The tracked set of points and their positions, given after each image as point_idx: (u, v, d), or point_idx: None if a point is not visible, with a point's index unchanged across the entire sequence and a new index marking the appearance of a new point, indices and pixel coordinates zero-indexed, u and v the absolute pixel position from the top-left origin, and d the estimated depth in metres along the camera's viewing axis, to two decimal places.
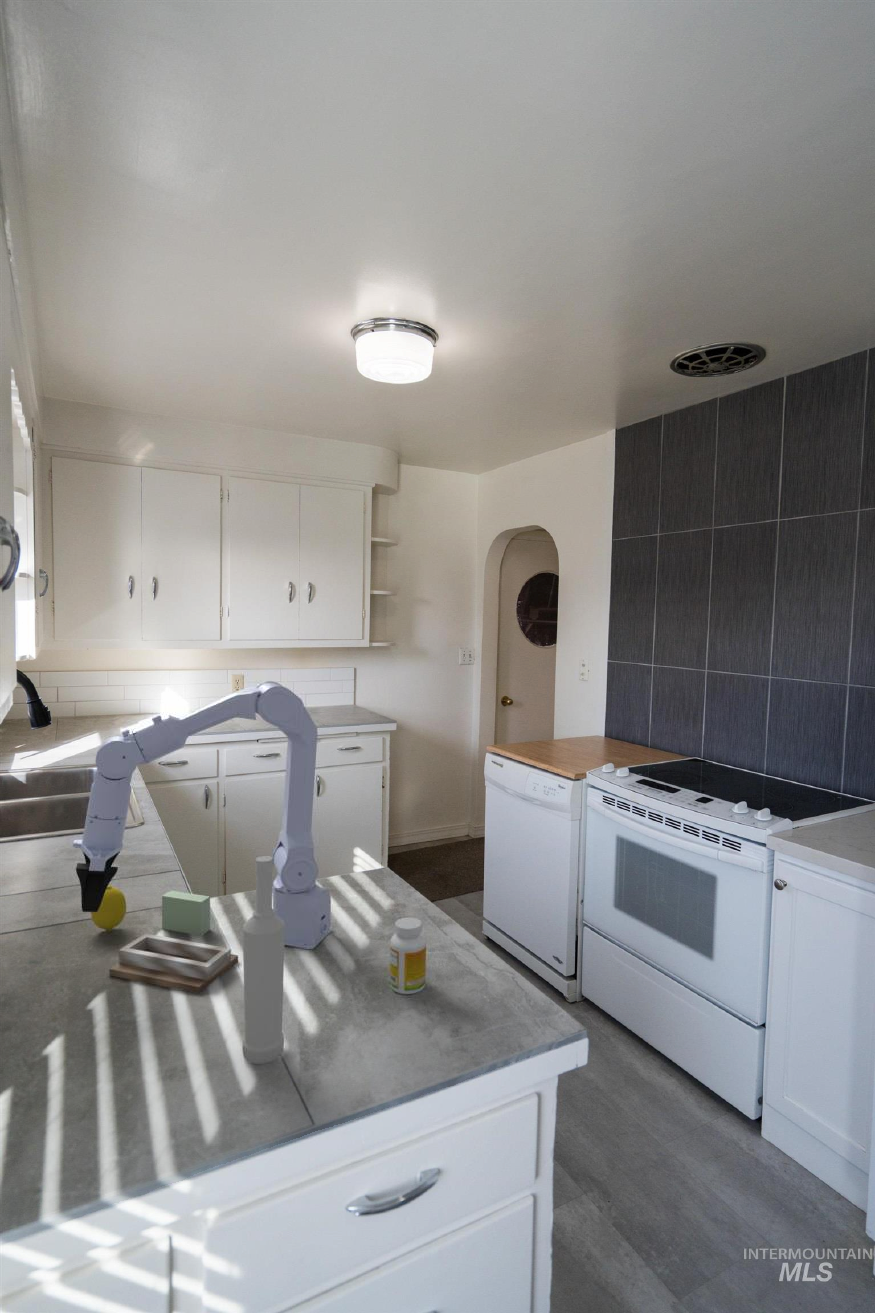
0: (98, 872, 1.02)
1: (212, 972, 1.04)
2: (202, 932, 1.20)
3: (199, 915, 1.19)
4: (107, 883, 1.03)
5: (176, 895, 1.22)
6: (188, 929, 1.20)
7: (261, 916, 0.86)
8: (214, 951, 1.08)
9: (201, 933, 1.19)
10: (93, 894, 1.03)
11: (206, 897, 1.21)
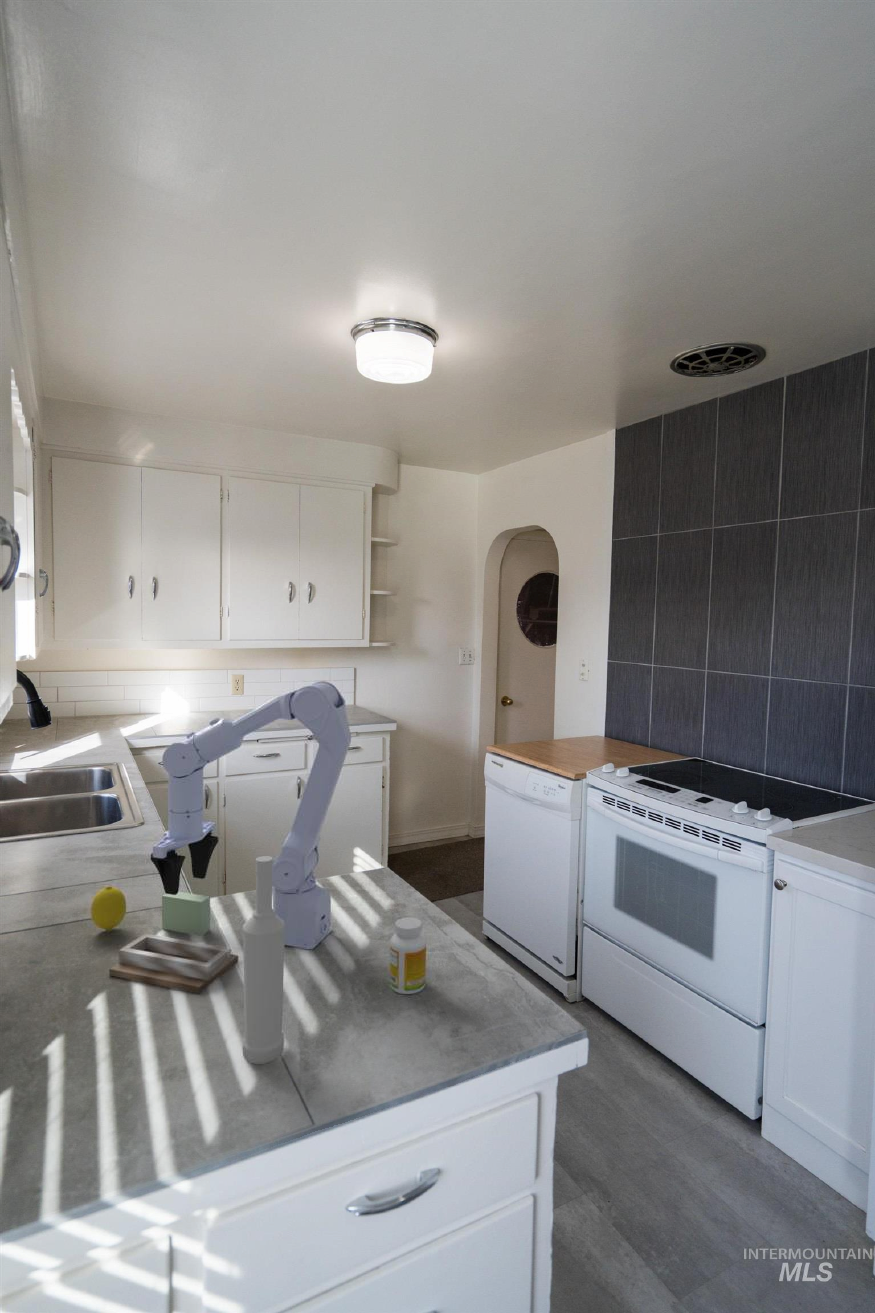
0: (163, 859, 1.15)
1: (212, 972, 1.04)
2: (202, 932, 1.20)
3: (199, 915, 1.19)
4: (174, 870, 1.15)
5: (176, 895, 1.22)
6: (188, 929, 1.20)
7: (261, 916, 0.86)
8: (214, 951, 1.08)
9: (201, 933, 1.19)
10: (169, 879, 1.17)
11: (206, 897, 1.21)
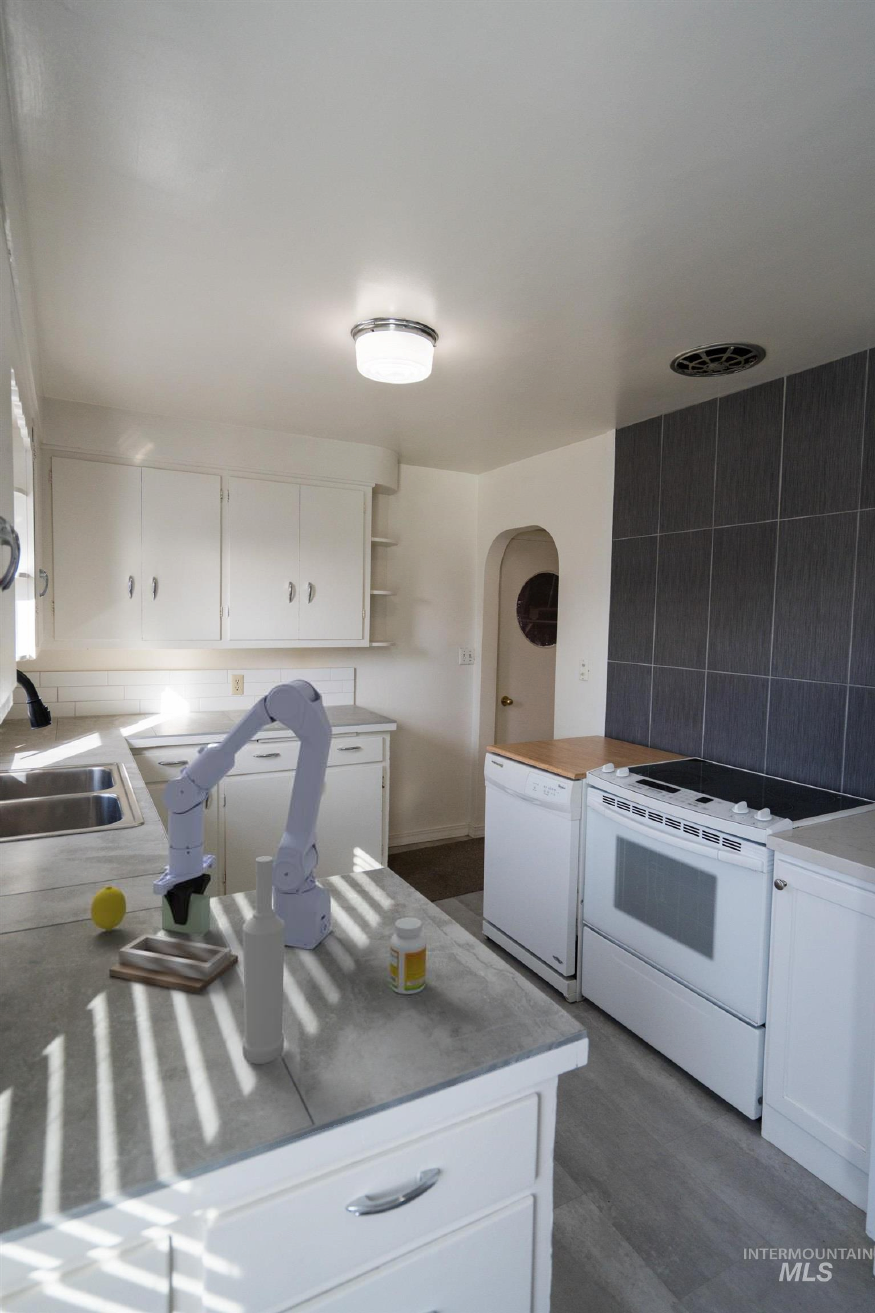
0: (173, 891, 1.17)
1: (212, 972, 1.04)
2: (202, 931, 1.20)
3: (199, 914, 1.19)
4: (183, 901, 1.18)
5: None
6: (188, 928, 1.20)
7: (261, 916, 0.86)
8: (214, 951, 1.08)
9: (201, 932, 1.19)
10: (178, 909, 1.19)
11: (206, 896, 1.21)
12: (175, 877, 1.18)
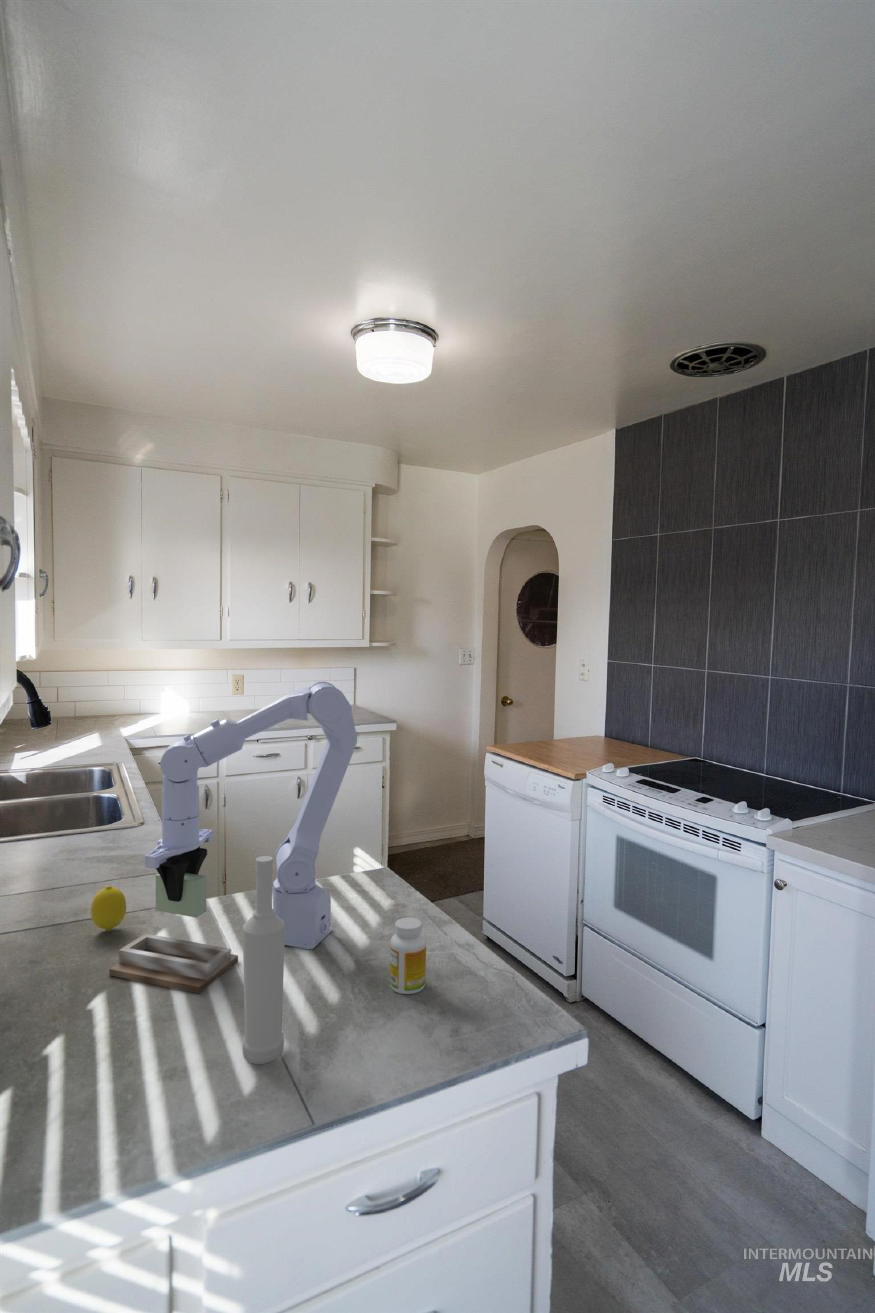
0: (166, 865, 1.10)
1: (212, 972, 1.04)
2: (197, 913, 1.12)
3: (195, 895, 1.12)
4: (177, 876, 1.11)
5: None
6: (183, 910, 1.13)
7: (261, 916, 0.86)
8: (214, 951, 1.08)
9: (196, 914, 1.12)
10: (172, 885, 1.12)
11: (202, 876, 1.14)
12: (169, 850, 1.11)
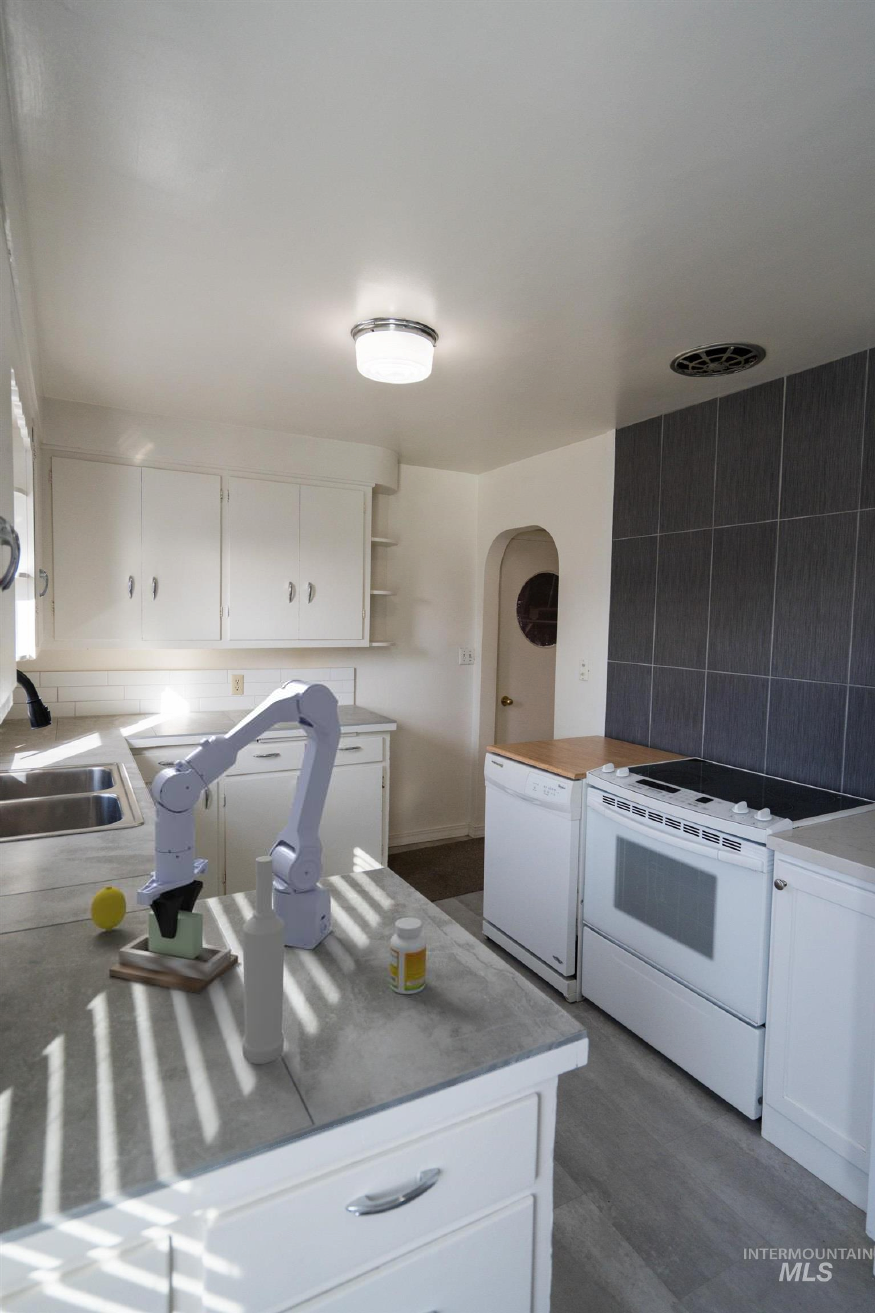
0: (159, 900, 1.04)
1: (212, 972, 1.04)
2: (193, 954, 1.06)
3: (190, 935, 1.05)
4: (171, 912, 1.04)
5: None
6: (178, 951, 1.06)
7: (261, 916, 0.86)
8: (214, 951, 1.08)
9: (192, 956, 1.06)
10: (166, 921, 1.06)
11: (198, 915, 1.07)
12: (162, 885, 1.04)
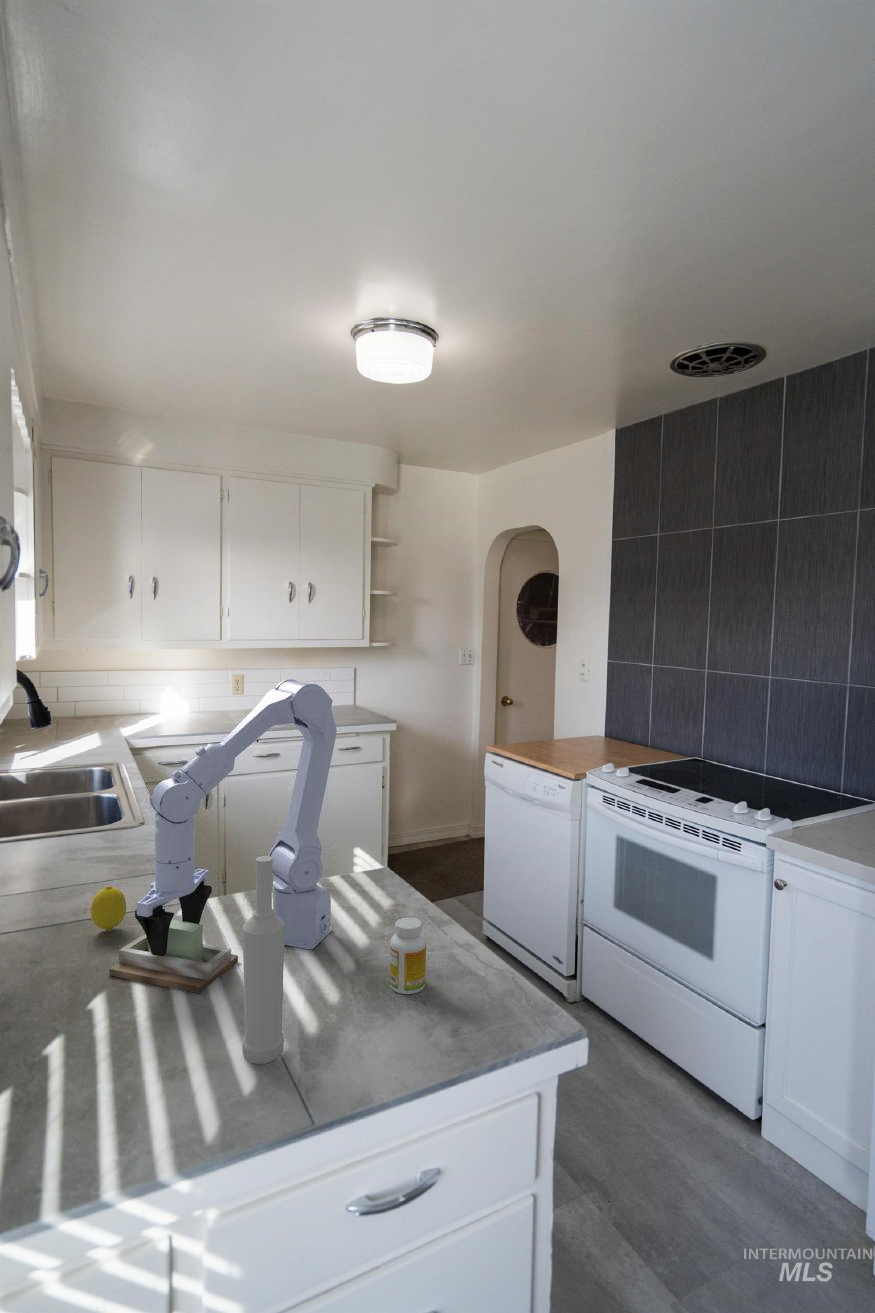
0: (149, 917, 1.02)
1: (212, 972, 1.04)
2: None
3: (190, 946, 1.06)
4: (161, 929, 1.02)
5: None
6: None
7: (261, 916, 0.86)
8: (214, 951, 1.08)
9: None
10: (156, 938, 1.04)
11: (198, 926, 1.07)
12: (162, 895, 1.04)
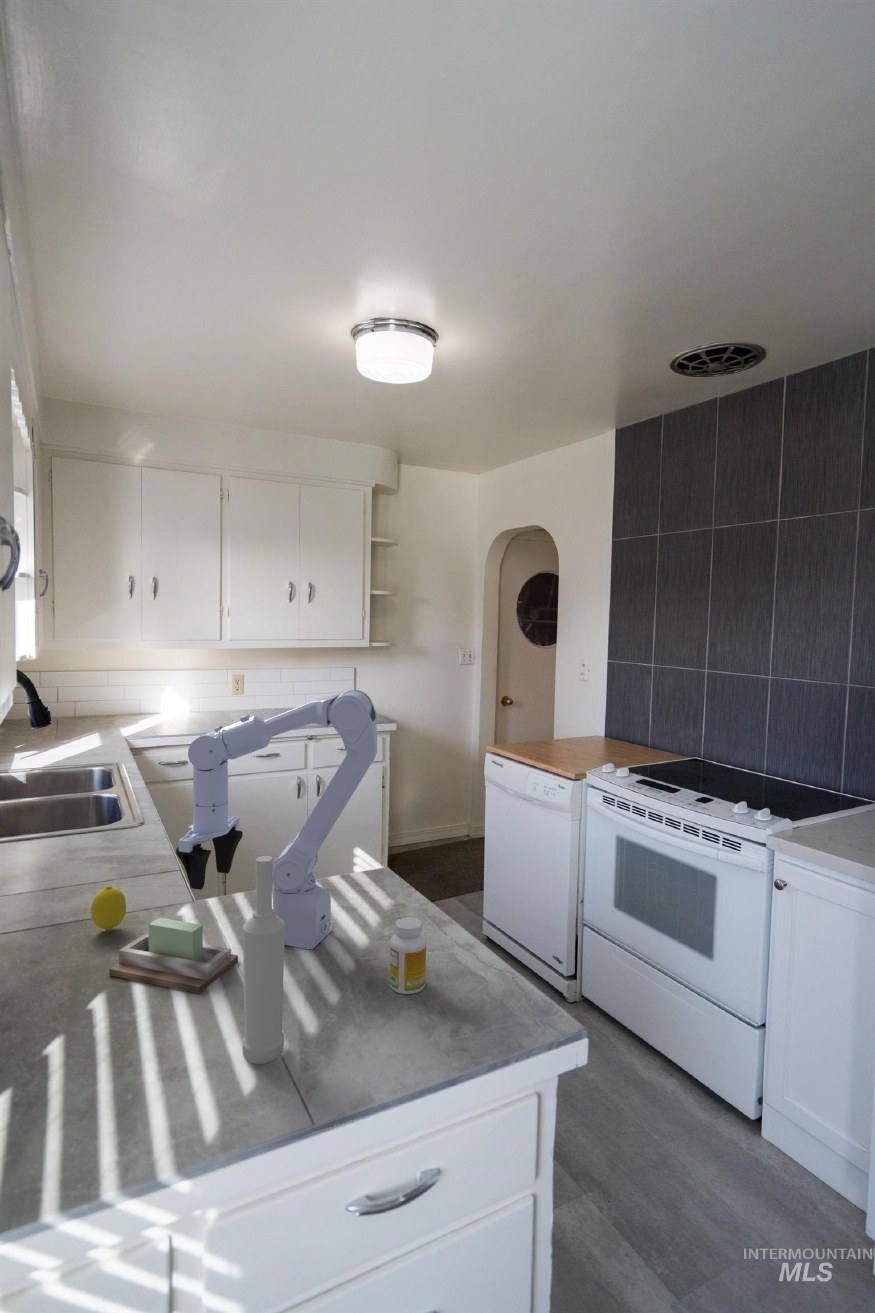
0: (189, 853, 1.13)
1: (212, 972, 1.04)
2: None
3: (190, 946, 1.06)
4: (200, 864, 1.14)
5: (165, 923, 1.08)
6: None
7: (261, 916, 0.86)
8: (214, 951, 1.08)
9: None
10: (195, 873, 1.15)
11: (198, 926, 1.07)
12: (200, 835, 1.16)
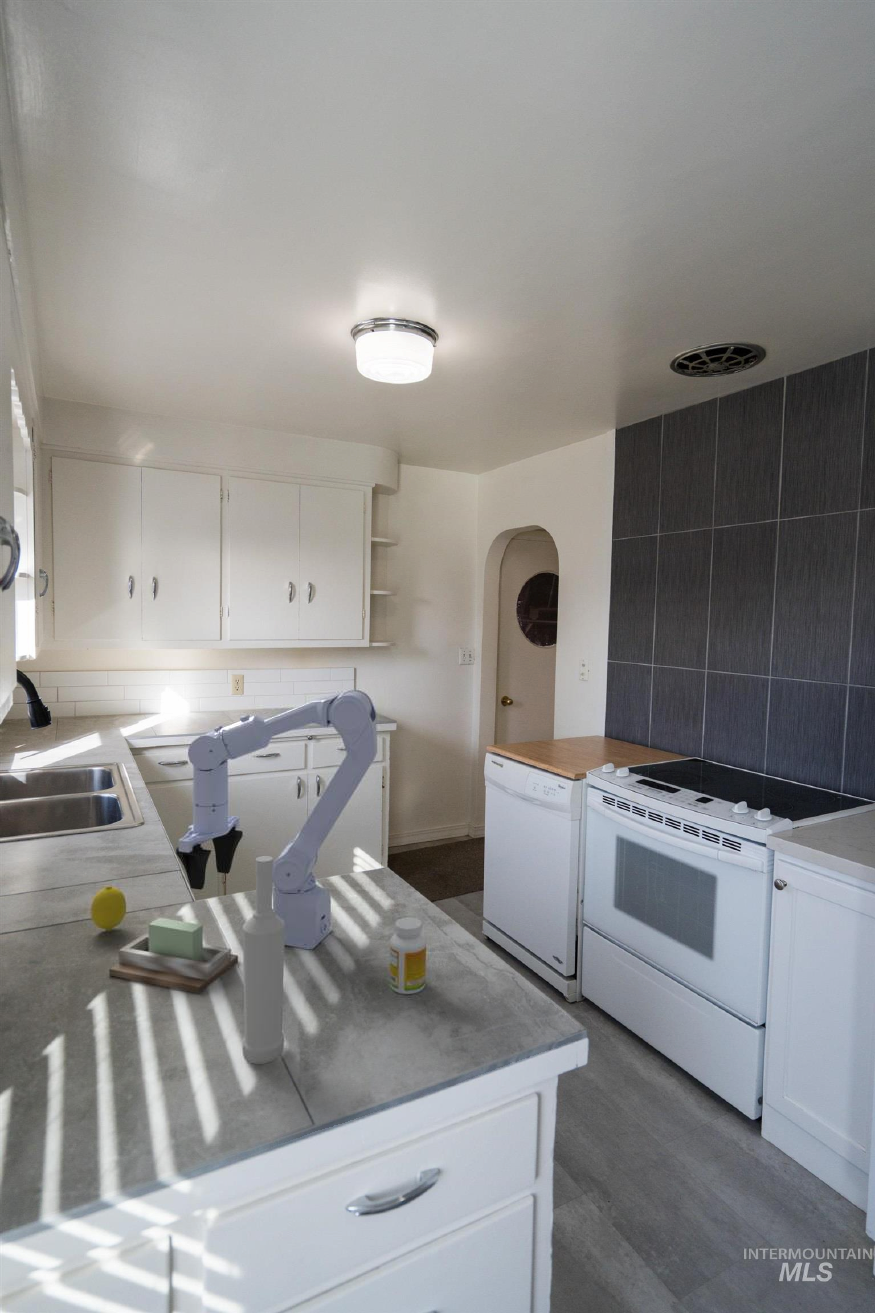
0: (189, 853, 1.13)
1: (212, 972, 1.04)
2: None
3: (190, 946, 1.06)
4: (200, 864, 1.14)
5: (165, 923, 1.08)
6: None
7: (261, 916, 0.86)
8: (214, 951, 1.08)
9: None
10: (195, 873, 1.15)
11: (198, 926, 1.07)
12: (200, 835, 1.16)
